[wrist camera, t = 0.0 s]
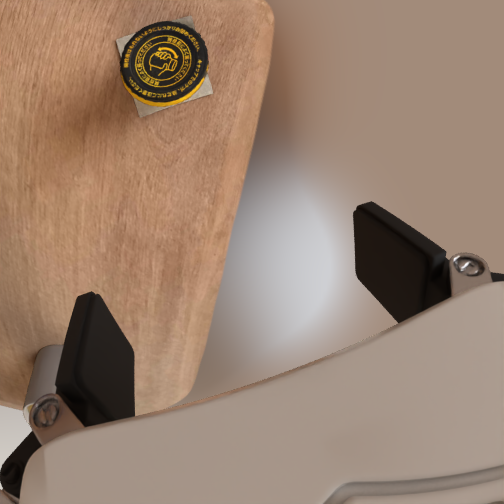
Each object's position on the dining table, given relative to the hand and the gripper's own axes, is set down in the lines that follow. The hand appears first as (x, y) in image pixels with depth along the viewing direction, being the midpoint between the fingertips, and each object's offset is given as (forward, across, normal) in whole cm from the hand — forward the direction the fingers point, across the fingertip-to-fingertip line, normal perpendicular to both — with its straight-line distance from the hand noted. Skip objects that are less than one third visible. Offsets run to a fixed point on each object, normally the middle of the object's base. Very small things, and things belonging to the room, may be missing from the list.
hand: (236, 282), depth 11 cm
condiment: (+22, 0, -10) cm, 24 cm away
